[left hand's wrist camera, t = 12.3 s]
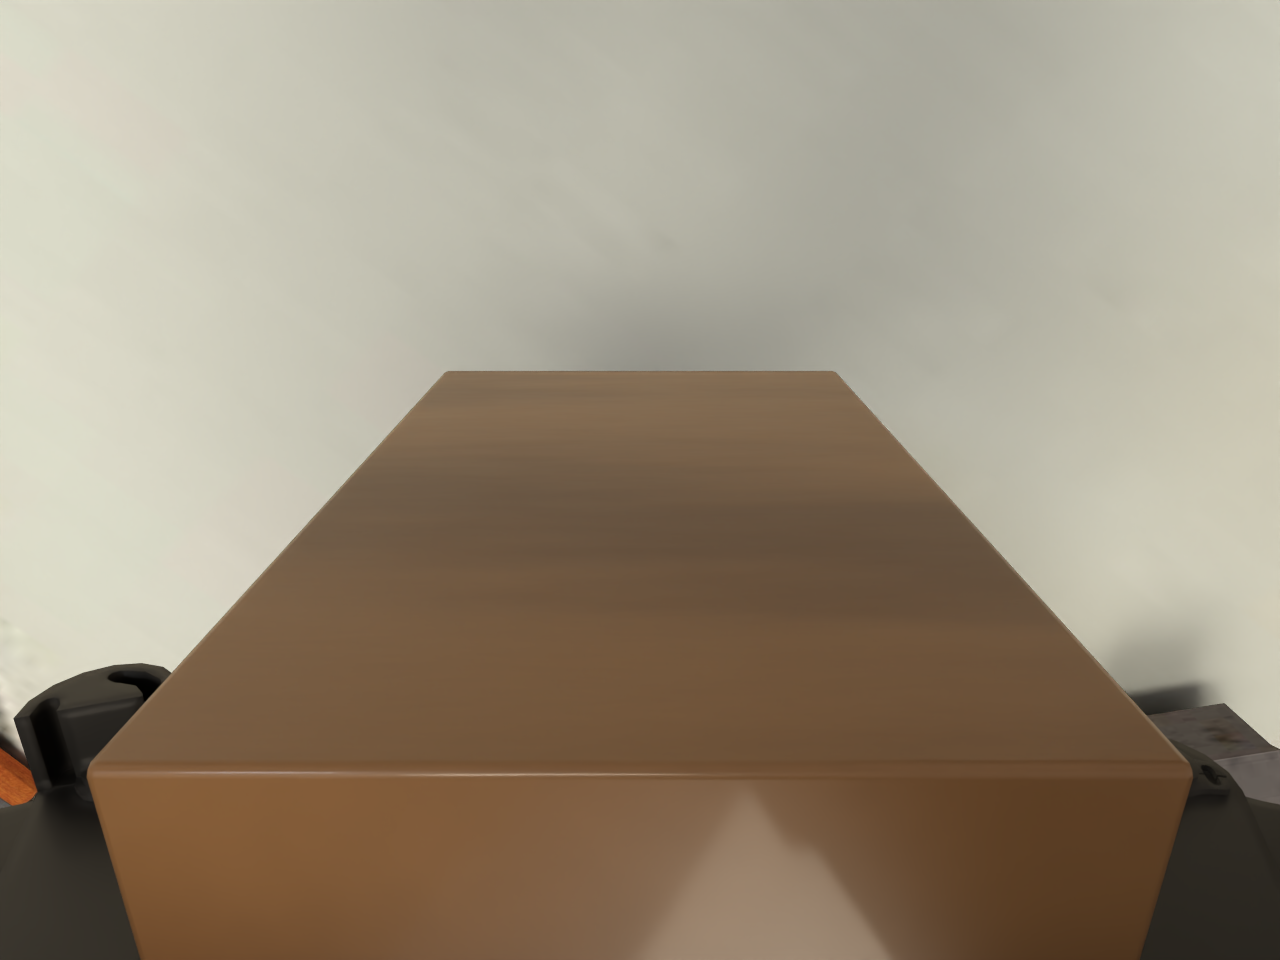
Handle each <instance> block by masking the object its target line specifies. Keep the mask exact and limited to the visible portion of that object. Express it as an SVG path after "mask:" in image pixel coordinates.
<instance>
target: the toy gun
mask: <svg viewBox="0 0 1280 960" xmlns="http://www.w3.org/2000/svg"><path fill="white" fill-rule="evenodd" d="M36 793H37V789H36V786H35V783H34V780H33V777H32V774H31V771H30V770H29V769H27V768H26V767H25V766H24V765H22V764H21V763H20V762H18V761H17V760H16V759H14V758H13V757H12V756H10V755H9V754H8V753H6V752H5V751H4V750H2V749H1V748H0V808H4V807H9V806H14V805H18V804H23V803H27V802H30V801H33V800H32V798H33V797H34V795H35V794H36Z"/></svg>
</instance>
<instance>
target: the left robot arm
mask: <svg viewBox="0 0 1280 960" xmlns="http://www.w3.org/2000/svg"><path fill="white" fill-rule="evenodd" d="M170 674H171V672H169V671H168V670H167V669H165V668H164V667H161V666H155V665H149V664H143V663H138V664H124V665H113V666H109V667H105V668H101V669H97V670H93V671H88V672H84V673H82V674H79V675H77V676H74V677H72V678H70V679H67V680H65V681H62V682H60V683H58V684H55V685H53V686H52V687H50V688H48V689H47V690H45V691H44V692H42V693H41V694H39V695H38V696H36V697H35V698H33V699H31V700H30V701H29V702H28V703H27V704H26V705H25V706H24V707H23V708H22V709H21V711H20V712H19V713H18V714H17V715H16V716H15V717H14V718H13V719H14V722H15V725H16V728H17V731H18V734H19V737H20V740H21V743H22V746H23V749H24V752H25V755H26V758H27V761H28V764H29V767H30V771H31V774H32V777H33V780H34V783H35V786H36V789H37V794H36V796H35V798H34V800H33V801H30V802H27V803H23V804H18V805H14V806H9V807H4V808H0V960H140V956H139V953H138V950H137V946H136V943H135V939H134V936H133V933H132V929H131V926H130V922H129V919H128V916H127V912H126V909H125V906H124V902H123V899H122V895H121V892H120V889H119V885H118V882H117V878H116V875H115V872H114V868H113V865H112V862H111V858H110V855H109V851H108V848H107V845H106V841H105V838H104V834H103V831H102V828H101V824H100V821H99V818H98V814H97V811H96V807H95V804H94V801H93V797H92V794H91V790H90V787H89V784H88V780H87V770H88V767H89V765H90V762H91V761H92V760H93V759H94V758H95V757H96V756H97V755H98V753H99V752H100V751H101V750H102V749H103V748H104V747H105V746H106V745H107V744H108V742H109V741H110V740H111V739H112V738H113V737H114V736H115V735H116V734H117V733H118V731H119V730H120V729H121V728H122V727H123V726H124V725H125V724H126V723H127V722H128V720H129V719H130V718H131V717H132V716H133V715H134V714H135V713H136V712H137V711H138V709H139V708H140V707H141V706H142V705H143V704H144V703H145V702H146V701H147V700H148V698H149V697H150V696H151V695H152V694H153V693H154V692H155V691H156V690H157V689H158V688H159V686H160V685H161V684H162V683H163V682H164V681H165V680H166V679H167V678H168V677H169V675H170ZM1167 739H1168V738H1167ZM1168 740H1169V741H1170V742H1171V743H1172V744H1173V745H1174V746H1175V748H1176V749H1177V750H1178V751H1179V752H1180V753H1181V754H1182V755H1183V756H1184V757H1185V759H1186V760H1187V761H1188V762H1189V763H1190V766H1191V768H1192V772H1193V780H1192V784H1191V787H1190V791H1189V794H1188V797H1187V801H1186V804H1185V807H1184V811H1183V814H1182V818H1181V821H1180V824H1179V828H1178V831H1177V835H1176V838H1175V841H1174V845H1173V848H1172V852H1171V855H1170V858H1169V862H1168V865H1167V869H1166V872H1165V875H1164V879H1163V882H1162V885H1161V889H1160V892H1159V896H1158V899H1157V902H1156V906H1155V909H1154V913H1153V916H1152V919H1151V923H1150V926H1149V930H1148V933H1147V936H1146V940H1145V943H1144V947H1143V950H1142V953H1141V957H1140V960H1280V804H1275V803H1270V802H1265V801H1260V800H1257V799H1253V798H1249V797H1246V796H1245V795H1244V792H1243V790H1242V789H1241V788H1240V786H1239V785H1238V784H1237V782H1236V781H1235V780H1234V778H1233V777H1232V776H1231V774H1230V773H1229V772H1228V771H1227V770H1225V769H1224V768H1223V767H1221V766H1220V765H1219V764H1217V763H1216V762H1215V761H1213V760H1212V759H1211V758H1209V757H1208V756H1207V755H1205V754H1203V753H1201V752H1199V751H1197V750H1195V749H1193V748H1191V747H1188V746H1186V745H1184V744H1182V743H1180V742H1178V741H1175V740H1172V739H1168Z"/></svg>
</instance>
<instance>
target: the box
mask: <svg viewBox="0 0 1280 960" xmlns="http://www.w3.org/2000/svg"><path fill="white" fill-rule="evenodd" d="M87 780H88V784H89V787H90V790H91V794H92V797H93V801H94V804H95V807H96V811H97V814H98V818H99V821H100V824H101V828H102V831H103V834H104V838H105V841H106V845H107V848H108V851H109V855H110V858H111V862H112V865H113V868H114V872H115V875H116V878H117V882H118V885H119V889H120V892H121V895H122V899H123V902H124V906H125V909H126V912H127V916H128V919H129V922H130V926H131V929H132V933H133V936H134V939H135V943H136V946H137V950H138V953H139V956H140V960H1140V957H1141V953H1142V950H1143V947H1144V943H1145V940H1146V936H1147V933H1148V930H1149V926H1150V923H1151V919H1152V916H1153V913H1154V909H1155V906H1156V902H1157V899H1158V896H1159V892H1160V889H1161V885H1162V882H1163V879H1164V875H1165V872H1166V869H1167V865H1168V862H1169V858H1170V855H1171V852H1172V848H1173V845H1174V841H1175V838H1176V835H1177V831H1178V828H1179V824H1180V821H1181V818H1182V814H1183V811H1184V807H1185V804H1186V801H1187V797H1188V794H1189V791H1190V787H1191V784H1192V780H1193V772H1192V768H1191V766H1190V763H1189V762H1188V761H1187V760H1186V759H1185V757H1184V756H1183V755H1182V754H1181V753H1180V752H1179V751H1178V750H1177V749H1176V748H1175V746H1174V745H1173V744H1172V743H1171V742H1170V741H1169V740H1168V739H1167V738H1166V736H1165V735H1164V734H1163V733H1162V732H1161V731H1160V730H1159V729H1158V728H1157V727H1156V725H1155V724H1154V723H1153V722H1152V721H1151V720H1150V719H1149V718H1148V717H1147V715H1146V714H1145V713H1144V712H1143V711H1142V710H1141V709H1140V708H1139V707H1138V706H1137V704H1136V703H1135V702H1134V701H1133V700H1132V699H1131V698H1130V697H1129V696H1128V694H1127V693H1126V692H1125V691H1124V690H1123V689H1122V688H1121V687H1120V686H1119V685H1118V683H1117V682H1116V681H1115V680H1114V679H1113V678H1112V677H1111V676H1110V675H1109V674H1108V672H1107V671H1106V670H1105V669H1104V668H1103V667H1102V666H1101V665H1100V664H1099V662H1098V661H1097V660H1096V659H1095V658H1094V657H1093V656H1092V655H1091V654H1090V653H1089V651H1088V650H1087V649H1086V648H1085V647H1084V646H1083V645H1082V644H1081V643H1080V641H1079V640H1078V639H1077V638H1076V637H1075V636H1074V635H1073V634H1072V633H1071V632H1070V630H1069V629H1068V628H1067V627H1066V626H1065V625H1064V624H1063V623H1062V622H1061V620H1060V619H1059V618H1058V617H1057V616H1056V615H1055V614H1054V613H1053V612H1052V611H1051V609H1050V608H1049V607H1048V606H1047V605H1046V604H1045V603H1044V602H1043V601H1042V600H1041V598H1040V597H1039V596H1038V595H1037V594H1036V593H1035V592H1034V591H1033V590H1032V588H1031V587H1030V586H1029V585H1028V584H1027V583H1026V582H1025V581H1024V580H1023V579H1022V577H1021V576H1020V575H1019V574H1018V573H1017V572H1016V571H1015V570H1014V569H1013V567H1012V566H1011V565H1010V564H1009V563H1008V562H1007V561H1006V560H1005V559H1004V558H1003V556H1002V555H1001V554H1000V553H999V552H998V551H997V550H996V549H995V548H994V546H993V545H992V544H991V543H990V542H989V541H988V540H987V539H986V538H985V537H984V535H983V534H982V533H981V532H980V531H979V530H978V529H977V528H976V527H975V526H974V524H973V523H972V522H971V521H970V520H969V519H968V518H967V517H966V516H965V514H964V513H963V512H962V511H961V510H960V509H959V508H958V507H957V506H956V505H955V503H954V502H953V501H952V500H951V499H950V498H949V497H948V496H947V495H946V493H945V492H944V491H943V490H942V489H941V488H940V487H939V486H938V485H937V484H936V482H935V481H934V480H933V479H932V478H931V477H930V476H929V475H928V474H927V473H926V471H925V470H924V469H923V468H922V467H921V466H920V465H919V464H918V463H917V461H916V460H915V459H914V458H913V457H912V456H911V455H910V454H909V453H908V452H907V450H906V449H905V448H904V447H903V446H902V445H901V444H900V443H899V442H898V440H897V439H896V438H895V437H894V436H893V435H892V434H891V433H890V432H889V431H888V429H887V428H886V427H885V426H884V425H883V424H882V423H881V422H880V421H879V419H878V418H877V417H876V416H875V415H874V414H873V413H872V412H871V411H870V410H869V408H868V407H867V406H866V405H865V404H864V403H863V402H862V401H861V400H860V399H859V397H858V396H857V395H856V394H855V393H854V392H853V391H852V390H851V389H850V387H849V386H848V385H847V384H846V383H845V382H844V381H843V380H842V379H841V378H840V376H839V375H838V374H837V373H836V372H833V371H448V372H445V373H444V374H443V375H442V376H441V377H440V379H439V380H438V381H437V382H436V383H435V384H434V385H433V386H432V387H431V388H430V390H429V391H428V392H427V393H426V394H425V395H424V396H423V397H422V398H421V399H420V401H419V402H418V403H417V404H416V405H415V406H414V407H413V408H412V409H411V410H410V412H409V413H408V414H407V415H406V416H405V417H404V418H403V419H402V420H401V421H400V423H399V424H398V425H397V426H396V427H395V428H394V429H393V430H392V431H391V432H390V434H389V435H388V436H387V437H386V438H385V439H384V440H383V441H382V442H381V443H380V445H379V446H378V447H377V448H376V449H375V450H374V451H373V452H372V453H371V454H370V456H369V457H368V458H367V459H366V460H365V461H364V462H363V463H362V464H361V465H360V467H359V468H358V469H357V470H356V471H355V472H354V473H353V474H352V475H351V476H350V478H349V479H348V480H347V481H346V482H345V483H344V484H343V485H342V486H341V487H340V489H339V490H338V491H337V492H336V493H335V494H334V495H333V496H332V497H331V498H330V500H329V501H328V502H327V503H326V504H325V505H324V506H323V507H322V508H321V509H320V511H319V512H318V513H317V514H316V515H315V516H314V517H313V518H312V519H311V520H310V522H309V523H308V524H307V525H306V526H305V527H304V528H303V529H302V530H301V531H300V533H299V534H298V535H297V536H296V537H295V538H294V539H293V540H292V541H291V542H290V543H289V545H288V546H287V547H286V548H285V549H284V550H283V551H282V552H281V553H280V554H279V556H278V557H277V558H276V559H275V560H274V561H273V562H272V563H271V564H270V565H269V567H268V568H267V569H266V570H265V571H264V572H263V573H262V574H261V575H260V576H259V578H258V579H257V580H256V581H255V582H254V583H253V584H252V585H251V586H250V587H249V589H248V590H247V591H246V592H245V593H244V594H243V595H242V596H241V597H240V598H239V600H238V601H237V602H236V603H235V604H234V605H233V606H232V607H231V608H230V609H229V611H228V612H227V613H226V614H225V615H224V616H223V617H222V618H221V619H220V620H219V622H218V623H217V624H216V625H215V626H214V627H213V628H212V629H211V630H210V631H209V633H208V634H207V635H206V636H205V637H204V638H203V639H202V640H201V641H200V642H199V644H198V645H197V646H196V647H195V648H194V649H193V650H192V651H191V652H190V653H189V655H188V656H187V657H186V658H185V659H184V660H183V661H182V662H181V663H180V664H179V666H178V667H177V668H176V669H175V670H174V671H173V672H172V673H171V674H170V675H169V677H168V678H167V679H166V680H165V681H164V682H163V683H162V684H161V685H160V686H159V688H158V689H157V690H156V691H155V692H154V693H153V694H152V695H151V696H150V697H149V698H148V700H147V701H146V702H145V703H144V704H143V705H142V706H141V707H140V708H139V709H138V711H137V712H136V713H135V714H134V715H133V716H132V717H131V718H130V719H129V720H128V722H127V723H126V724H125V725H124V726H123V727H122V728H121V729H120V730H119V731H118V733H117V734H116V735H115V736H114V737H113V738H112V739H111V740H110V741H109V742H108V744H107V745H106V746H105V747H104V748H103V749H102V750H101V751H100V752H99V753H98V755H97V756H96V757H95V758H94V759H93V760H92V761H91V762H90V765H89V767H88V770H87Z"/></svg>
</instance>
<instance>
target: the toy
mask: <svg viewBox="0 0 1280 960" xmlns="http://www.w3.org/2000/svg"><path fill="white" fill-rule="evenodd" d="M1147 717H1148V718H1149V719H1150V720H1151V721H1152V722H1153V723H1154V724H1155V725H1156V727H1157V728H1158V729H1159V730H1160V731H1161V732H1162V733H1163V734H1164V735H1165V736H1166V738H1168V739H1172V740H1175V741H1178V742H1180V743H1182V744H1184V745H1186V746H1188V747H1191V748H1193V749H1195V750H1197V751H1199V752H1201V753H1203V754H1205V755H1207V756H1208V757H1209V758H1211V759H1212V760H1213V761H1215V762H1216V763H1217V764H1219V765H1220V766H1221V767H1223V768H1224V769H1225V770H1227V771H1228V772H1229V773H1230V774H1231V776H1232V777H1233V778H1234V780H1235V781H1236V782H1237V784H1238V785H1239V786H1240V788H1241V789H1242V790H1243V792H1244V795H1245V796H1246V797H1249V798H1253V799H1257V800H1260V801H1265V802H1270V803H1275V804H1280V749H1278V748H1276V747H1274V746H1272V745H1270V744H1269V743H1268V742H1267V741H1266V740H1265V739H1264V738H1263V737H1261V736H1260V735H1259V734H1258V733H1257V732H1256V731H1255V730H1254V729H1252V728H1251V727H1250V726H1249V725H1248V724H1247V723H1246V722H1245V721H1244V720H1242V719H1241V718H1240V717H1239V716H1238V715H1237V714H1236V713H1235V712H1233V711H1232V710H1231V709H1230V708H1229V707H1228V706H1227V705H1226V704H1225V703H1223V704H1217V705H1210V706H1204V707H1197V708H1191V709H1185V710H1178V711H1172V712H1166V713H1159V714H1153V715H1147Z"/></svg>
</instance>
